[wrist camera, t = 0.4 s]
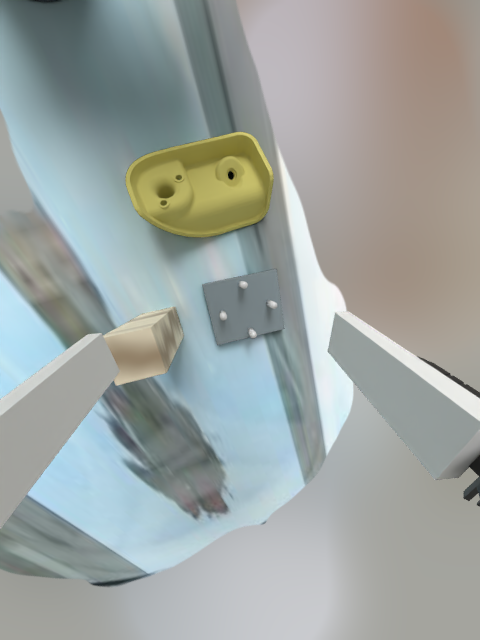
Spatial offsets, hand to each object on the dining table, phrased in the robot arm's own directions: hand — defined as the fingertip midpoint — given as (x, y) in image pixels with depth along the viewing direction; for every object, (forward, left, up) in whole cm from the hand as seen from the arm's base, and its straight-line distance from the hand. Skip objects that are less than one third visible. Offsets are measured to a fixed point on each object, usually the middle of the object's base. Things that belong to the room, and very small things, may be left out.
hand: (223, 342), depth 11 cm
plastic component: (-17, +2, -25) cm, 31 cm away
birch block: (+3, -11, -25) cm, 27 cm away
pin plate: (+3, +5, -25) cm, 26 cm away
